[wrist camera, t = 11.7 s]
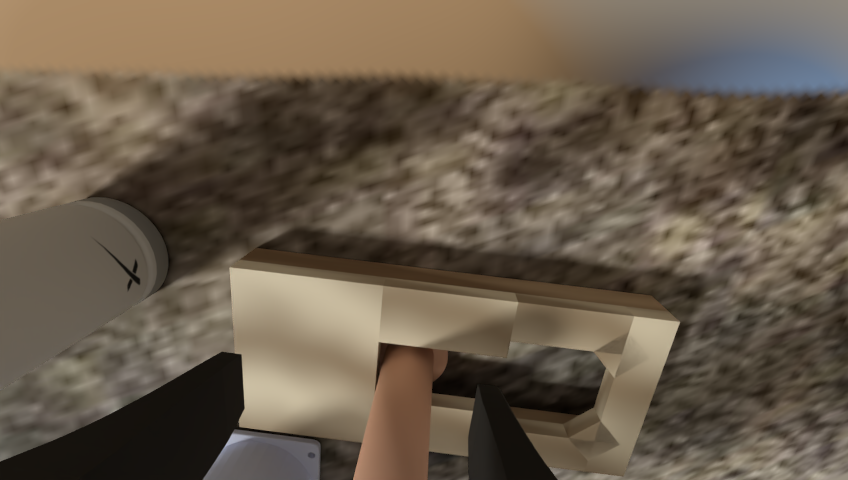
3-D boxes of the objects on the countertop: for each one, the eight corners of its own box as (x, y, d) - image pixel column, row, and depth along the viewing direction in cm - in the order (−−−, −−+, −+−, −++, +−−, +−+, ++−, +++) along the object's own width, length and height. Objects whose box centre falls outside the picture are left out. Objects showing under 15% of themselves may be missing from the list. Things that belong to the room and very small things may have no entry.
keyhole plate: (604, 436, 25) (623, 476, 22) (261, 393, 25) (239, 426, 22) (651, 295, 21) (680, 321, 19) (256, 247, 22) (229, 267, 19)
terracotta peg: (443, 380, 24) (440, 558, 14) (372, 372, 24) (324, 543, 15) (452, 317, 22) (455, 469, 13) (376, 309, 23) (326, 453, 13)
